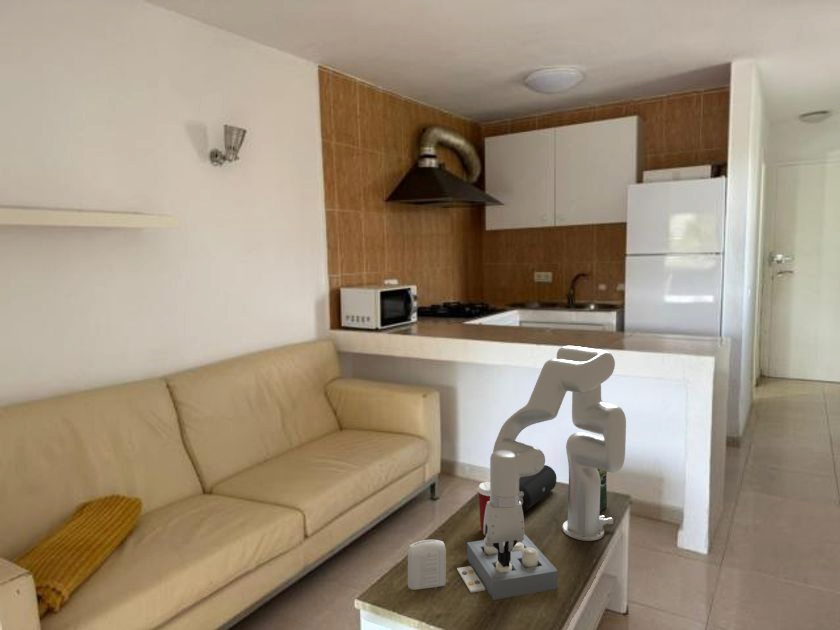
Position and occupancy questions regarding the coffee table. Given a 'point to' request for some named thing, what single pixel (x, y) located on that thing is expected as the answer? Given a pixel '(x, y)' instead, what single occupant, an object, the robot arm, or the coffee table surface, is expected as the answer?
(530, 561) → the button
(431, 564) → the photo printer
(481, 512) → the coffee cup
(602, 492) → the coffee jar
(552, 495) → the coffee table surface
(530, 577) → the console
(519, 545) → the button
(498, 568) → the button
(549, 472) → the portable speaker
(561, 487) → the coffee table surface
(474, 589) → the card
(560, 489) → the coffee table surface
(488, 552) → the button
